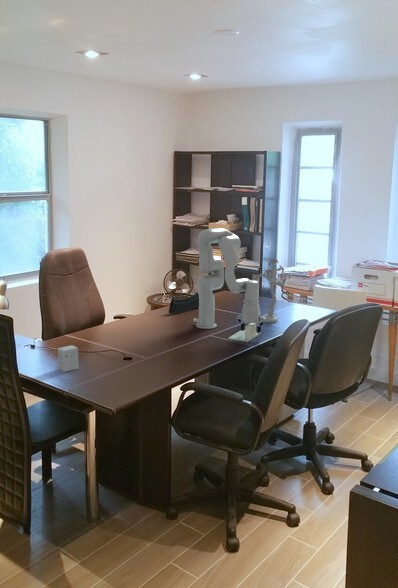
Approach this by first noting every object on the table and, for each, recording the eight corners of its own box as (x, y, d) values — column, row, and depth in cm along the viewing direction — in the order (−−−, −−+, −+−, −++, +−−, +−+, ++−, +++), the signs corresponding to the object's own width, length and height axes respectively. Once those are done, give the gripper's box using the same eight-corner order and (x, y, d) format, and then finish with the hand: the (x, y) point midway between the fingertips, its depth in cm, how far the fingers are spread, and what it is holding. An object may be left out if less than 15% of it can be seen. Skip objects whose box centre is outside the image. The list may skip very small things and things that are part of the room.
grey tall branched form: (256, 313, 391) (258, 254, 383) (291, 316, 385) (294, 256, 377) (248, 324, 365) (250, 260, 357) (286, 327, 359) (288, 262, 351)
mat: (228, 339, 331) (228, 337, 331) (241, 331, 349) (241, 329, 349) (247, 342, 326) (247, 340, 326) (260, 333, 344) (260, 332, 343)
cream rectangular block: (244, 338, 331) (245, 326, 330) (251, 334, 340) (251, 322, 338) (249, 338, 330) (249, 326, 328) (255, 334, 339) (256, 322, 337)
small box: (73, 365, 284) (72, 344, 282) (78, 368, 280) (78, 347, 278) (58, 369, 279) (57, 348, 277) (63, 372, 275) (62, 350, 273)
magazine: (169, 302, 381) (198, 283, 401) (165, 301, 383) (195, 283, 403) (174, 325, 388) (203, 305, 408) (171, 324, 390) (199, 305, 410)
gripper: (234, 302, 331) (234, 331, 335) (263, 305, 324) (262, 335, 327) (240, 299, 338) (239, 328, 341) (268, 302, 330) (267, 332, 334)
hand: (250, 331), depth 334 cm, fingers open, 9 cm apart
